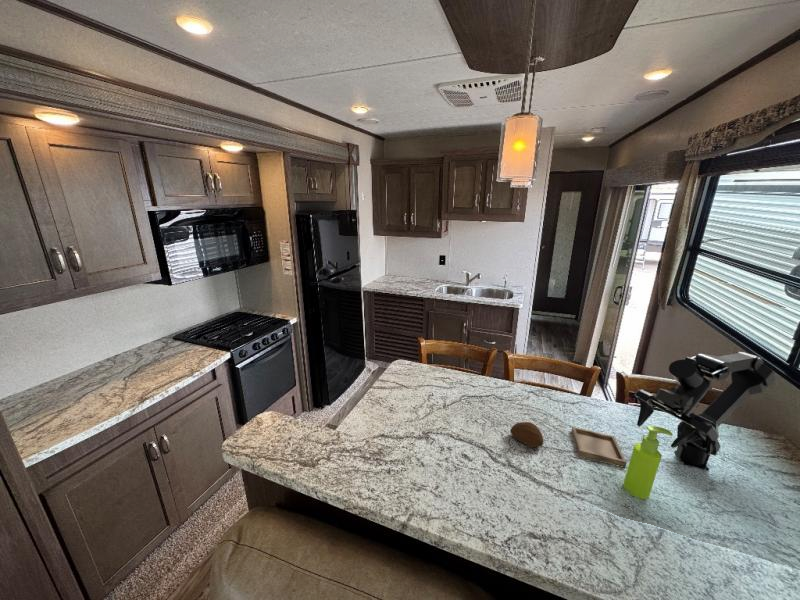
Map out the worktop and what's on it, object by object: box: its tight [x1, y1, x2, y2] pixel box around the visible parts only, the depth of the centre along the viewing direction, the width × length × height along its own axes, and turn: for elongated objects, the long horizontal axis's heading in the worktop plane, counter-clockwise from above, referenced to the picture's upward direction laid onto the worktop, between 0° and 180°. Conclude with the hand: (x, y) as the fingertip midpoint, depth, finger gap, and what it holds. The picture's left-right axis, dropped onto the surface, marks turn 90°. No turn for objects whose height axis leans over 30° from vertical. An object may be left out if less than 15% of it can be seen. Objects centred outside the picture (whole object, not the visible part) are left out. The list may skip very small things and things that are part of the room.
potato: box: [509, 421, 544, 448], centre depth 103 cm, size 7×10×7 cm
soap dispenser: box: [622, 425, 674, 500], centre depth 85 cm, size 6×7×20 cm
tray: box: [571, 426, 628, 468], centre depth 103 cm, size 13×13×2 cm
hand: (654, 435), depth 89 cm, fingers open, 9 cm apart
